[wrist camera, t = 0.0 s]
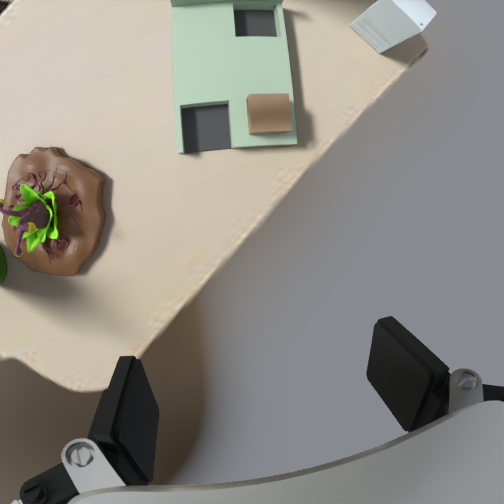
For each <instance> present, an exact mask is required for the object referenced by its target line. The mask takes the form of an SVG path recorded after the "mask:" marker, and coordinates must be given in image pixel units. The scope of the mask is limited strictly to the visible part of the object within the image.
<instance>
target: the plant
mask: <svg viewBox="0 0 504 504" xmlns="http://www.w3.org/2000/svg"><path fill="white" fill-rule="evenodd" d="M104 181H105V178H104V177H103V176H102V175H100V174H99V173H98V171H96V170H95V169H92V168H88V167H86V166H84V165H83V164H81V163H80V162H79V161H78V160H75V159H72V158H68V157H65V156H63V155H62V154H61V153H60V152H59V151H58V149H57V147H50V148H49V149H45V148H43V147H35V148H34V149H33V150H32V151H31V153H30V154H29V155H27V154H20V155H19V156H18V157H17V158H16V159H15V160H14V162H13V163H12V165H11V167H10V169H9V172H8V177H7V184H6V191H5V198H4V200H2V199H0V211H1V213H2V212H3V221H2V227H3V231H4V237H5V241H6V243H7V245H8V247H9V250H10V253H11V256H12V257H18V258H20V259H21V260H23V261H24V262H25V263H26V265H27V266H28V268H29V269H31V270H33V271H38V272H44V273H49V274H54V275H60V276H74V275H75V274H76V273H78V272H79V270H80V269H81V267H82V265H83V264H84V262H85V261H86V259H87V258H88V257H90V256H91V255H92V254H93V253H94V251H95V249H96V247H97V245H98V243H99V239H100V235H101V231H102V228H103V224H104V221H105V212H104V209H103V205H102V192H103V185H104ZM3 207H4V209H3Z"/></svg>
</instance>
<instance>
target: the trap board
mask: <svg viewBox="0 0 504 504" xmlns="http://www.w3.org/2000/svg"><path fill="white" fill-rule="evenodd" d="M282 2H283V0H171V4H172V67H173V93H174V111H175V126H176V140H177V152H178V153H179V154H182V153H190V152H199V151H208V150H218V149H229V148H242V147H257V146H276V145H294V144H297V133H296V121H295V110H294V99H293V89H292V79H291V70H290V62H289V53H288V45H287V38H286V30H285V23H284V16H283V9H282ZM272 93H285V94H289V101H290V112H291V124H292V131H290V132H288V133H277V134H254V135H249V128H248V116H247V103H246V99H247V97H248V95H249V94H272Z"/></svg>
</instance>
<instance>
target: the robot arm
mask: <svg viewBox="0 0 504 504" xmlns="http://www.w3.org/2000/svg"><path fill="white" fill-rule="evenodd" d="M448 371H449V368H448V367H447V365H445V364H444V363H443V362H442V361H441V360H440V359H439V358H438V357H437V356H436V355H435V354H434V353H433V352H431V351H430V350H429V349H428V348H427V347H426V346H425V345H424V344H423V343H422V342H420V341H419V340H418V339H417V338H416V337H415V336H414V335H413V334H412V333H410V332H409V331H408V330H407V329H406V328H405V327H404V326H403V325H401V324H400V323H399V322H398V321H397V320H396V319H394V317H392V316H389V317H385V318H382V319H379V320H378V321H377V323H376V324H375V325H374V331H373V337H372V344H371V350H370V356H369V362H368V367H367V378H368V380H369V382H370V383H371V385H372V386H373V387H374V389H375V390H376V391H377V393H378V394H379V395H380V397H381V398H382V400H383V401H384V403H385V404H386V405H387V407H388V408H389V409H390V411H391V412H392V414H393V415H394V417H395V418H396V419H397V421H398V422H399V424H400V425H401V426H402V428H403V429H404V430H405V431H408V432H409V433H408V434H406V435H404V436H401V437H399V438H397V439H394V440H392V441H389V442H387V443H384V444H382V445H379V446H377V447H374V448H371V449H369V450H366V451H363V452H360V453H357V454H355V455H351V456H348V457H345V458H342V459H339V460H336V461H333V462H329V463H326V464H322V465H318V466H314V467H311V468H306V469H302V470H298V471H294V472H289V473H284V474H279V475H274V476H269V477H263V478H256V479H249V480H242V481H234V482H225V483H212V484H197V485H171V486H168V485H165V486H164V485H152V486H148V482H152V481H153V472H154V460H155V450H156V439H157V430H158V422H159V408H158V405H157V403H156V400H155V398H154V395H153V393H152V390H151V387H150V385H149V382H148V379H147V377H146V374H145V371H144V368H143V365H142V363H141V360H139V359H136V357H135V356H121V357H120V358H119V360H118V362H117V365H116V368H115V370H114V373H113V376H112V379H111V381H110V384H109V387H108V389H105V390H104V391H103V393H102V396H101V399H100V402H99V405H98V408H97V411H96V413H95V416H94V419H93V422H92V425H91V428H90V431H89V435H88V438H87V439H75V440H72V441H71V442H69V443H68V444H67V445H66V446H65V447H64V449H63V451H62V456H61V458H62V463H60V464H58V465H56V466H54V467H53V468H51V469H49V470H47V471H45V472H43V473H41V474H39V475H37V476H36V477H34V478H32V479H30V480H28V481H26V482H25V483H24V484H23V485H22V487H21V490H20V500H19V501H16V500H14V501H13V502H12V503H11V504H504V387H502V386H493V385H485V384H482V380H481V377H480V376H479V375H478V374H477V373H476V372H475V371H472V370H470V369H457V370H455V371H454V372H453V373H452V374H450V373H449V372H448Z"/></svg>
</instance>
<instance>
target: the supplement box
mask: <svg viewBox="0 0 504 504" xmlns="http://www.w3.org/2000/svg"><path fill="white" fill-rule="evenodd" d="M436 13H437V12H436V11H435V10H434V9H433V8H432V7H431V6H430V5H429V4H428V3H427V2H426V1H425V0H377V1H376V2H375V3H374V4H372V5H371V6H370V7H369V8H367V9H366V10H365V11H364V12H363V13H362V14H361V15H360V16H359V17H358V18H356V19H355V20H354V21H353V22H352V23H351V24H350V27H351V28H352V29H353V30H355V31H356V32H357V33H358V34H359V35H360V36H361V37H362V38H363V39H365V40H366V41H367V42H368V43H369V44H370V45H371V46H372V47H373V48H374V49H375V50H376V51H377V52H378V53H379V54H380V53H382V52H384V51H386V50H387V49H389V48H391V47H393V46H395V45H397V44H399V43H401V42H403V41H405V40H407V39H409V38H411V37H413V36H415V35H417V34H419V33H421V32H423V31H424V29H425V28H426V27H427V25H428V24H429V23H430V21H431V20H432V19H433V17H434V16H435V15H436Z"/></svg>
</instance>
